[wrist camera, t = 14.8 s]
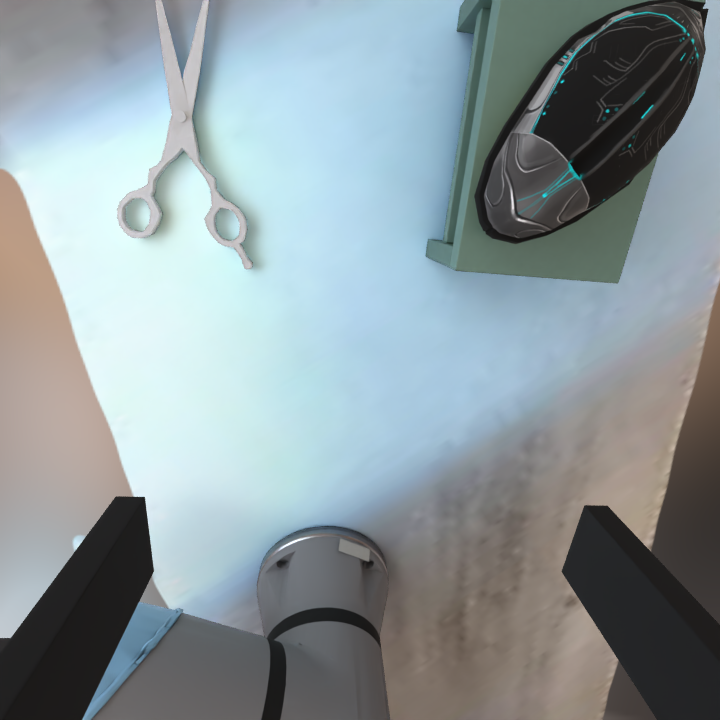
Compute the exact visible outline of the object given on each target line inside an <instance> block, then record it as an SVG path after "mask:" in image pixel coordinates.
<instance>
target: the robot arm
mask: <svg viewBox="0 0 720 720" xmlns="http://www.w3.org/2000/svg"><path fill="white" fill-rule="evenodd" d="M153 572H154V568H153V560H152V552H151V544H150V536H149V528H148V519H147V511H146V503H145V497H115V498H114V500H113V501H112V503H111V504H110V505H109V507H108V508H107V509H106V511H105V512H104V513H103V515H102V516H101V517H100V519H99V520H98V521H97V523H96V524H95V525H94V527H93V528H92V529H91V531H90V532H89V534H88V535H87V536H86V537H85V539H84V540H83V542H82V543H81V544H80V546H79V547H78V548H77V550H76V551H75V552H74V554H73V555H72V557H71V558H70V559H69V560H68V562H67V563H66V564H65V566H64V567H63V569H62V570H61V571H60V573H59V574H58V575H57V577H56V578H55V579H54V581H53V582H52V583H51V585H50V586H49V587H48V589H47V590H46V592H45V593H44V594H43V596H42V597H41V598H40V600H39V601H38V602H37V604H36V605H35V607H34V608H33V609H32V610H31V612H30V613H29V614H28V616H27V617H26V619H25V620H24V621H23V623H22V624H21V625H20V627H19V628H18V629H17V631H16V632H15V633H14V635H13V636H12V637H11V638H0V720H390V715H389V707H388V699H387V691H386V683H385V675H384V667H383V659H382V652H381V644H380V631H381V625H382V620H383V615H384V610H385V605H386V599H387V594H388V583H389V582H388V573H387V567H386V562H385V559H384V557H383V554H382V553H381V551H380V550H379V548H378V547H377V546H376V545H375V544H374V543H373V542H372V541H371V540H369V539H368V538H366V537H365V536H363V535H361V534H359V533H357V532H354V531H352V530H348V529H345V528H340V527H329V526H325V527H313V528H308V529H304V530H300V531H297V532H295V533H293V534H290V535H288V536H286V537H285V538H283V539H282V540H280V541H279V542H277V543H276V544H275V545H274V546H273V547H272V548H271V549H270V550H269V551H268V553H267V554H266V556H265V557H264V559H263V561H262V563H261V566H260V571H259V576H258V581H257V597H258V603H259V609H260V615H261V620H262V626H263V632H264V637H263V636H260V635H256V634H253V633H249V632H246V631H243V630H239V629H236V628H232V627H229V626H225V625H222V624H219V623H215V622H212V621H208V620H205V619H201V618H198V617H195V616H191V615H188V614H184V613H182V612H183V609H180V608H177V609H175V610H173V609H168V608H163V607H159V606H155V605H151V604H147V603H142V602H139V601H140V599H141V597H142V595H143V593H144V590H145V589H146V586H147V584H148V582H149V580H150V578H151V576H152V574H153ZM562 573H563V575H564V576H565V578H566V579H567V581H568V582H569V584H570V585H571V587H572V589H573V590H574V592H575V593H576V595H577V596H578V598H579V599H580V601H581V603H582V604H583V606H584V607H585V609H586V610H587V612H588V613H589V615H590V616H591V618H592V620H593V621H594V623H595V624H596V626H597V627H598V629H599V630H600V632H601V634H602V635H603V637H604V638H605V640H606V641H607V643H608V644H609V646H610V647H611V649H612V651H613V652H614V654H615V655H616V657H617V658H618V660H619V661H620V663H621V664H622V666H623V668H624V669H625V671H626V672H627V674H628V675H629V677H630V678H631V680H632V682H633V683H634V685H635V686H636V687H637V689H638V691H639V692H640V694H641V695H642V697H643V698H644V700H645V702H646V703H647V705H648V706H649V708H650V709H651V711H652V712H653V714H654V716H655V717H656V719H657V720H720V625H719V624H718V623H717V621H716V620H715V619H714V618H713V617H712V616H711V615H710V614H709V613H708V612H707V611H706V610H705V609H704V608H703V607H702V606H701V605H700V603H699V602H698V601H697V600H696V599H695V598H694V597H693V596H692V595H691V594H690V593H689V592H688V591H687V590H686V589H685V588H684V587H683V586H682V584H680V582H679V581H678V580H677V579H676V578H675V577H674V576H673V575H672V574H671V573H670V572H669V571H668V570H667V569H666V567H665V566H664V565H663V564H662V563H661V562H660V561H659V560H658V559H657V558H656V557H655V556H654V555H653V554H652V553H651V552H650V550H649V549H648V548H647V547H646V546H645V545H644V544H643V543H642V542H641V541H640V540H639V539H638V538H637V537H636V536H635V535H634V534H633V532H632V531H631V530H630V529H629V528H628V527H627V526H626V525H625V524H624V523H623V522H622V521H621V520H620V519H619V518H618V517H617V516H616V514H615V513H614V512H613V511H612V510H611V509H610V508H609V507H608V506H589V505H585V506H584V508H583V511H582V514H581V517H580V520H579V523H578V526H577V529H576V532H575V535H574V537H573V540H572V543H571V546H570V549H569V552H568V555H567V558H566V561H565V563H564V566H563V569H562Z"/></svg>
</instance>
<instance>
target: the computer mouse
mask: <svg viewBox="0 0 720 720" xmlns="http://www.w3.org/2000/svg"><path fill="white" fill-rule="evenodd" d="M704 4H705V3H704V2H697V1H691V0H653V1H647V2H643V3H639V4H635V5H631V6H628V7H625V8H622V9H620V10H617V11H615V12H612V13H609V14H607V15H605V16H604V17H602V18H600V19H598V20H596V21H594V22H592V23H590V24H588V25H586V26H585V27H583V28H582V29H581V30H579V31H578V32H576V33H575V34H574V35H572V36H571V37H570V38H569V39H568V40H567V41H566V42H565V43H564V44H563V45H562V46H561V47H560V48H559V49H558V51H557V52H556V53H555V54H554V55H553V56H552V57H551V58H550V59H549V60H548V61H547V62H546V63H545V65H544V66H543V68H542V69H541V71H540V72H539V74H538V75H537V77H536V78H535V80H534V81H533V83H532V84H531V86H530V87H529V89H528V90H527V92H526V93H525V95H524V96H523V98H522V99H521V101H520V102H519V104H518V105H517V107H516V108H515V110H514V111H513V113H512V114H511V116H510V117H509V119H508V120H507V122H506V123H505V125H504V126H503V128H502V130H501V132H500V134H499V135H498V137H497V139H496V141H495V143H494V145H493V147H492V148H491V150H490V152H489V154H488V156H487V158H486V160H485V162H484V165H483V169H482V172H481V175H480V179H479V182H478V185H477V188H476V192H475V195H474V198H475V203H476V209H477V214H478V220H479V223H480V225H481V227H482V229H483V231H485V232H486V234H487V235H488V236H489V237H491V238H492V239H496V240H500V241H504V242H509V243H513V244H518V243H522V242H526V241H529V240H533V239H537V238H540V237H544V236H547V235H549V234H552V233H554V232H556V231H558V230H560V229H562V228H564V227H566V226H568V225H571V224H573V223H575V222H577V221H578V220H580V219H581V218H583V217H584V216H585V215H587V214H588V213H590V212H591V211H592V210H594V209H595V208H597V207H598V206H600V205H601V204H602V203H604V202H605V201H607V200H608V199H610V198H611V197H612V196H614V195H615V194H617V193H618V192H619V191H621V190H622V189H624V188H625V187H627V186H628V185H629V184H630V183H631V181H632V180H633V179H634V177H635V176H636V175H637V174H638V173H639V172H641V171H642V170H643V169H644V168H645V167H646V166H647V165H649V164H650V162H651V161H652V160H653V158H654V157H655V156H656V155H657V153H658V152H659V151H660V150H661V148H662V147H663V146H664V145H665V144H666V142H667V141H668V140H669V139H670V138H671V136H672V135H673V134H674V133H675V131H676V130H677V128H678V126H679V124H680V123H681V121H682V119H683V117H684V115H685V113H686V111H687V109H688V107H689V105H690V103H691V101H692V98H693V96H694V93H695V89H696V86H697V82H698V78H699V75H700V71H701V67H702V62H703V58H704V54H705V50H706V49H705V41H704V28H705V23H706V18H707V13H708V9H702V8H703V6H704Z"/></svg>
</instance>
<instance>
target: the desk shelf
mask: <svg viewBox="0 0 720 720" xmlns="http://www.w3.org/2000/svg"><path fill="white" fill-rule="evenodd" d="M647 1H653V0H464V2H463V3H462V5H461V7H460V12H459V19H458V26H457V31H460V32H467V33H474V39H473V46H472V52H471V59H470V65H469V72H468V79H467V85H466V92H465V98H464V105H463V112H462V118H461V125H460V131H459V138H458V145H457V151H456V158H455V164H454V171H453V178H452V184H451V191H450V197H449V204H448V211H447V217H446V224H445V230H444V237H443V240H433V239H428V242H427V250H426V257H428V258H430V259H432V260H434V261H437V262H439V263H441V264H443V265H445V266H447V267H449V268H451V269H453V270H456V271H466V272H478V273H491V274H504V275H516V276H529V277H542V278H554V279H567V280H580V281H592V282H605V283H618V282H619V279H620V276H621V273H622V269H623V266H624V263H625V260H626V256H627V253H628V250H629V247H630V243H631V240H632V237H633V234H634V230H635V227H636V224H637V221H638V217H639V214H640V211H641V208H642V204H643V201H644V198H645V195H646V191H647V188H648V185H649V182H650V179H651V175H652V172H653V169H654V166H655V162H656V159H657V156H658V153H659V152H658V153H657V155H656V156H655V157H654V158H653V160H652V161H651V162H650V164H649V165H647V166H646V167H645V168H644V169H643V170H642V171H641V172H639V173H638V174H637V175H636V176H635V177H634V179H633V180H632V181H631V183H630V184H629V185H628V186H627V187H625V188H624V189H622V190H621V191H619V192H618V193H617V194H615V195H614V196H612V197H611V198H610V199H608V200H607V201H605V202H604V203H602V204H601V205H600V206H598V207H597V208H595V209H594V210H592V211H591V212H590V213H588V214H587V215H585V216H584V217H583V218H581V219H580V220H578V221H577V222H575V223H573V224H571V225H568V226H566V227H564V228H562V229H560V230H558V231H556V232H554V233H552V234H549V235H547V236H544V237H540V238H537V239H533V240H529V241H526V242H522V243H518V244H513V243H509V242H504V241H500V240H496V239H492V238H491V237H489V236H488V235H487V234H486V232H485V231H483V229H482V227H481V225H480V223H479V220H478V214H477V209H476V203H475V198H474V195H475V192H476V188H477V185H478V182H479V179H480V175H481V172H482V169H483V165H484V162H485V160H486V158H487V156H488V154H489V152H490V150H491V148H492V147H493V145H494V143H495V141H496V139H497V137H498V135H499V134H500V132H501V130H502V128H503V126H504V125H505V123H506V122H507V120H508V119H509V117H510V116H511V114H512V113H513V111H514V110H515V108H516V107H517V105H518V104H519V102H520V101H521V99H522V98H523V96H524V95H525V93H526V92H527V90H528V89H529V87H530V86H531V84H532V83H533V81H534V80H535V78H536V77H537V75H538V74H539V72H540V71H541V69H542V68H543V66H544V65H545V63H546V62H547V61H548V60H549V59H550V58H551V57H552V56H553V55H554V54H555V53H556V52H557V51H558V49H559V48H560V47H561V46H562V45H563V44H564V43H565V42H566V41H567V40H568V39H569V38H570V37H571V36H572V35H574V34H575V33H576V32H578V31H579V30H581V29H582V28H583V27H585V26H586V25H588V24H590V23H592V22H594V21H596V20H598V19H600V18H602V17H604V16H605V15H607V14H609V13H612V12H615V11H617V10H620V9H622V8H625V7H628V6H631V5H635V4H639V3H643V2H647ZM691 1H697V2H704V3H705V0H691ZM703 7H704V6H703ZM702 9H703V8H702Z"/></svg>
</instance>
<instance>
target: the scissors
mask: <svg viewBox="0 0 720 720" xmlns="http://www.w3.org/2000/svg"><path fill="white" fill-rule="evenodd" d="M155 1H156V9H157V16H158V24H159V32H160V40H161V47H162V55H163V62H164V69H165V75H166V81H167V88H168V94H169V100H170V107H171V112H172V116H171V119H170V123H169V129H168V134H167V140H166V144H165V147H164V151H163V155H162V159H161V161H160V162H159V163H158V164H157V165H156V166H154V167H152V168H151V169H149V177H148V184H147V185H146V186H144V187H142V188H140V189H138V190H136V191H132V192H130V193H128V194H127V195H126V196H125V197H124V198H123V199H122V200H121V201H120V203H119V206H118V208H117V219H118V222H119V225H120V226H121V228H122V229H123V231H124V232H125V233H126V234H127V235H128V236H130V237H133V238H145V237H148V236H150V235H152V234H154V232H155V231H156V229H157V228H158V226H159V224H160V222H161V218H162V214H163V213H162V211H161V209H160V207H159V205H158V204H157V202H156V200H155V198H154V196H153V195H154V194H155V192H156V181H157V179H158V178H159V177H160V175H161V174H162V172H163V171H164V170H165V169H166V167H167V166H168V165H169V164H170V163H171V162H173V161H174V160H175V159H176V158H177V157H178V156H179V155H180V154H181V153H182V152H183V151H185V152H186V153H187V155H188V156H189V157H190V159H191V160H192V162H193V163H194V164H195V166H196V167H197V168H198V169H199V171H200V172H201V173H202V175H203V176H204V178H205V179H206V181H207V183H208V185H209V187H210V190H211V201H212V206H211V208H210V211H209V212H208V214H207V215H206V217H205V218H204V220H205V223H206V226H207V229H208V231H209V232H210V234H211V235H212V236H213V238H214V239H215V240H216V241H217V242H218V243H219V244H222V245H224V246H228V247H234V248H235V250H236V251H237V253H238V254H239V256H240V257H241V259H242V263H243V265H244V268H245V269H250V268H252V267H253V262H252V261H251V260H250V259H249V258H248V256H247V254H246V252H245V250H244V248H243V246H242V245H241V243H242V242H243V241H245V237H246V234H247V230H248V229H247V221H246V217H245V216H244V214H243V213H242V211H241V210H240V209H239V208H238V207H237V206H236V205H234V204H233V203H231V202H229V201H227V200H225V199H224V198H223V196H222V195H221V194H220V193H219V192H218V190H217V184H216V178H215V177H214V176H213V175H211V174H210V173H209V172H208V171H207V170H206V169H205V167H204V166H203V165H202V163H201V160H200V154H199V148H198V143H197V138H196V133H195V129H194V125H193V121H192V116H193V110H194V104H195V99H196V93H197V87H198V82H199V76H200V70H201V63H202V56H203V48H204V39H205V31H206V23H207V16H208V9H209V2H210V0H203V4H202V7H201V11H200V15H199V18H198V22H197V26H196V29H195V34H194V38H193V42H192V46H191V50H190V53H189V57H188V60H187V63H186V67H185V70H184V73H183V81H182V77H181V73H180V69H179V65H178V61H177V57H176V53H175V49H174V46H173V42H172V38H171V34H170V30H169V27H168V23H167V19H166V15H165V12H164V8H163V4H162V1H161V0H155ZM135 198H142V199H143V200H145V201H146V202H147V204H148V207H149V209H150V219H149V224H148V226H147V227H146V229H145V230H144V231H143V232H141V231H136V230H133V229H132V228H131V227H130V226H129V224H128V222H127V220H126V207H127V206H128V205H129V204H130V203H131V202H132V200H134V199H135ZM221 208H224V209H230V210H232V211H233V213H234V214H235V215H236V216H237V218H238V220H239V225H240V231H239V236H238V237H237V238H236V239H235V240H233V241H231V240H226V239H224V238H222V237H221V236H220V234H219V233H218V231H217V228H216V222H215V221H216V214H217V213H218V212H219V211H220V209H221Z"/></svg>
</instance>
